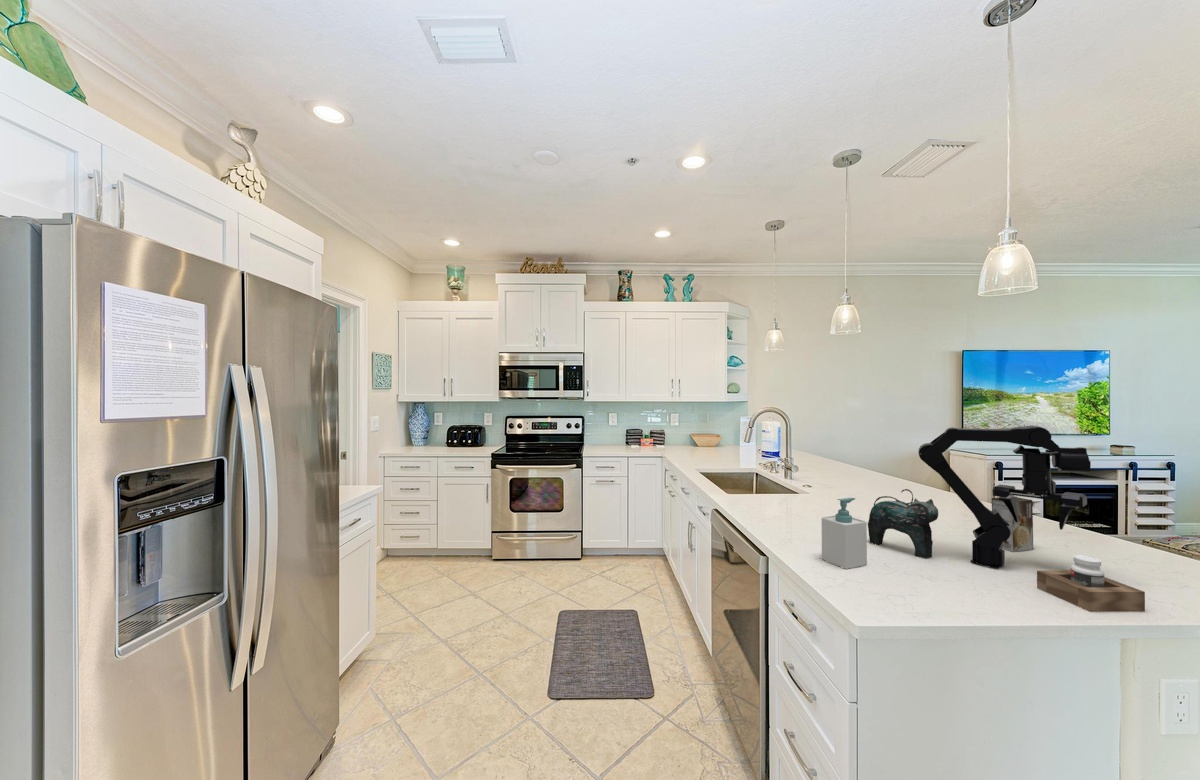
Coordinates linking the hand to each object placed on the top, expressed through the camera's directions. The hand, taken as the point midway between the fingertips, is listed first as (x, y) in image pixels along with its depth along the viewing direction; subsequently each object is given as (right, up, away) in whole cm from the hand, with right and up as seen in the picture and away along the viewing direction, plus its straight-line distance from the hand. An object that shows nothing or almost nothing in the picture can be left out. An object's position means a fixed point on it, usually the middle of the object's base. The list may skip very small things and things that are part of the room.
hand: (1038, 525), depth 130 cm
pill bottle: (-4, -13, -17) cm, 22 cm away
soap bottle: (-51, -14, +8) cm, 53 cm away
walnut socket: (-4, -13, -17) cm, 22 cm away
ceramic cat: (-27, -14, +18) cm, 35 cm away
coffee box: (+10, -13, +20) cm, 26 cm away
